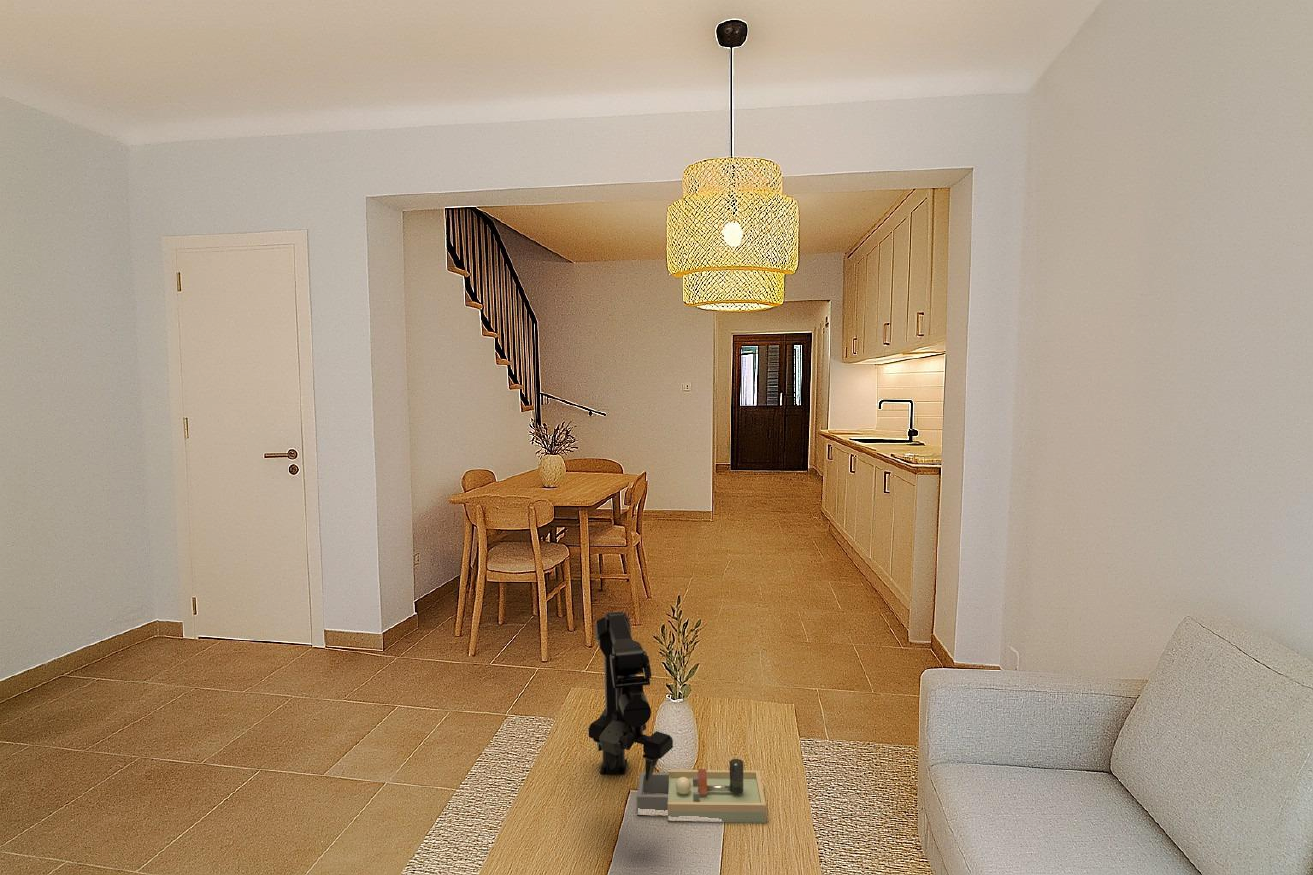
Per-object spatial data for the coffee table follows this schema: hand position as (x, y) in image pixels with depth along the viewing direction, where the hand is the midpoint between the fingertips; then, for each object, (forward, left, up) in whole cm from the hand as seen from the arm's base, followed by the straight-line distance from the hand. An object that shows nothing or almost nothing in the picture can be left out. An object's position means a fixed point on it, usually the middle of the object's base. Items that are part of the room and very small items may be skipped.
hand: (630, 773), depth 149 cm
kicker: (-11, +20, -11) cm, 25 cm away
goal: (-11, +5, -14) cm, 19 cm away
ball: (-11, +11, -9) cm, 19 cm away
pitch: (-11, +19, -14) cm, 26 cm away
